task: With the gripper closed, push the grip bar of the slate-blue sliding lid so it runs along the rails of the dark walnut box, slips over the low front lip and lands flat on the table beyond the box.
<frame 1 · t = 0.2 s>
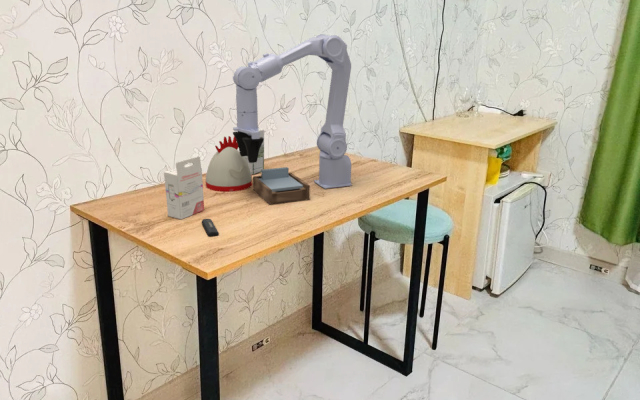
hand: (248, 159, 148), 10 cm above the table, tool pointing down, fingers open, 7 cm apart
usb stick: (210, 231, 124), on the table
lid: (280, 184, 149), point 3 cm above the table, touching box
box: (280, 194, 150), on the table
syrup box: (252, 172, 172), on the table
kitchen timer: (229, 185, 158), on the table
ink cartridge box: (186, 213, 134), on the table
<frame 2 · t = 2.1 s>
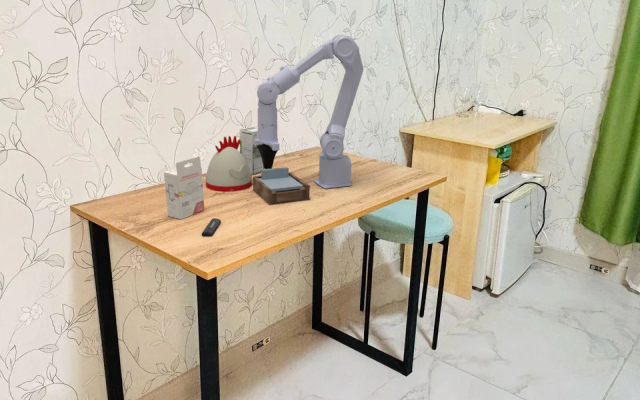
hand: (267, 168, 157), 5 cm above the table, tool pointing down, fingers closed
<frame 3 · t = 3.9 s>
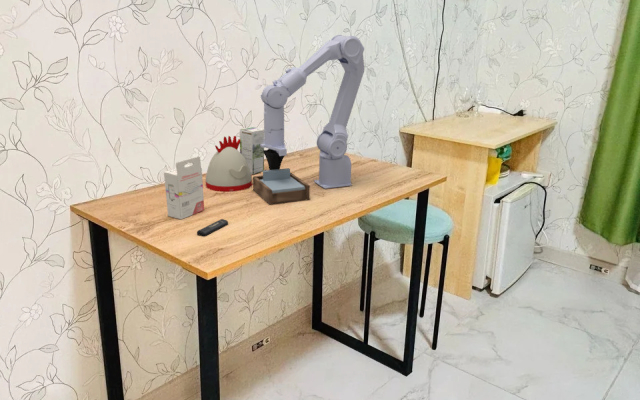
hand: (274, 174, 152), 5 cm above the table, tool pointing down, fingers closed
lid: (281, 185, 148), point 3 cm above the table, touching gripper
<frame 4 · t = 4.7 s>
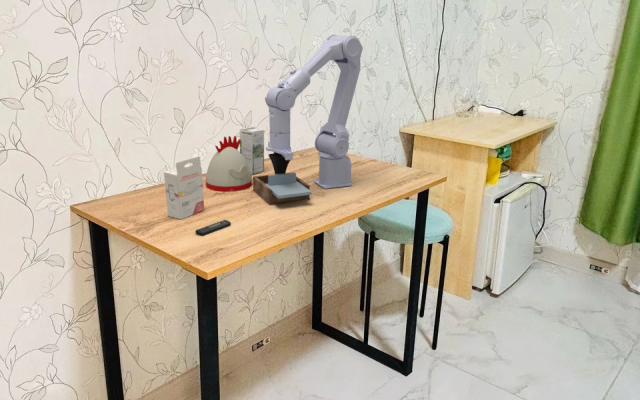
hand: (280, 178, 148), 5 cm above the table, tool pointing down, fingers closed
lid: (287, 190, 144), point 3 cm above the table, touching gripper
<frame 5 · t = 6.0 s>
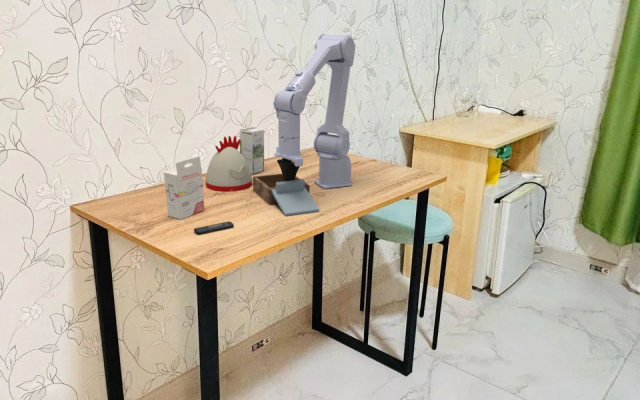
hand: (289, 185, 142), 5 cm above the table, tool pointing down, fingers closed
lid: (294, 201, 139), point 2 cm above the table, tilted 17°, touching box
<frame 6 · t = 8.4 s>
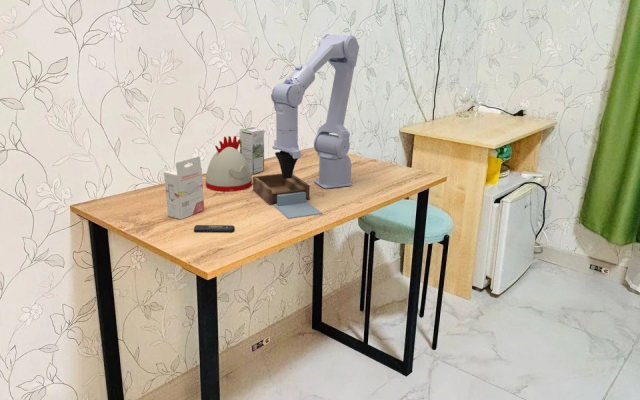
hand: (287, 177, 143), 6 cm above the table, tool pointing down, fingers closed
lid: (297, 211, 138), on the table
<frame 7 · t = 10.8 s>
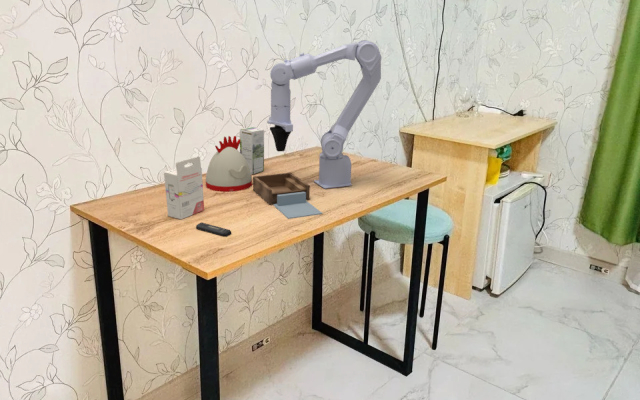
hand: (280, 150, 156), 10 cm above the table, tool pointing down, fingers closed
at the end: lid inside the target area (2.1 cm from its centre), on the table; lid tilted 0°; lid touching table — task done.
